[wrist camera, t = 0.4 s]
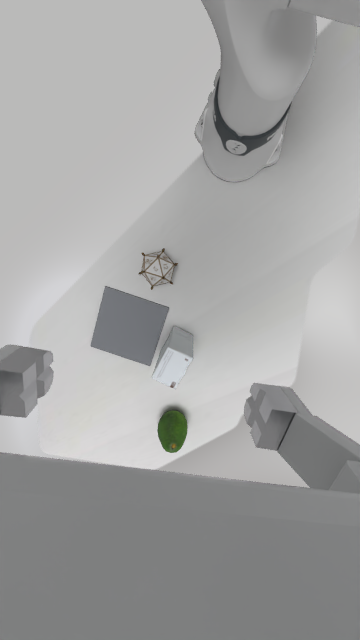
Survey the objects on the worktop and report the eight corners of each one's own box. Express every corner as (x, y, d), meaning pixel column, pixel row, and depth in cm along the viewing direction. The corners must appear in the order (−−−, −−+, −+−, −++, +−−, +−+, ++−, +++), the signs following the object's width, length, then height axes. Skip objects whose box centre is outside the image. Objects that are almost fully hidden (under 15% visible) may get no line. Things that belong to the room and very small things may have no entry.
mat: (105, 286, 56) (105, 286, 55) (169, 307, 56) (168, 307, 56) (91, 345, 60) (90, 346, 59) (150, 365, 60) (149, 366, 60)
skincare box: (174, 324, 57) (167, 343, 43) (194, 335, 57) (194, 357, 43) (160, 351, 59) (149, 378, 44) (180, 361, 59) (175, 391, 45)
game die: (156, 273, 58) (125, 280, 51) (163, 241, 53) (130, 244, 46) (181, 289, 54) (151, 299, 47) (190, 257, 49) (159, 262, 42)
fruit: (159, 403, 62) (151, 434, 51) (187, 402, 62) (185, 433, 50) (161, 427, 64) (154, 462, 53) (188, 427, 64) (187, 462, 52)
